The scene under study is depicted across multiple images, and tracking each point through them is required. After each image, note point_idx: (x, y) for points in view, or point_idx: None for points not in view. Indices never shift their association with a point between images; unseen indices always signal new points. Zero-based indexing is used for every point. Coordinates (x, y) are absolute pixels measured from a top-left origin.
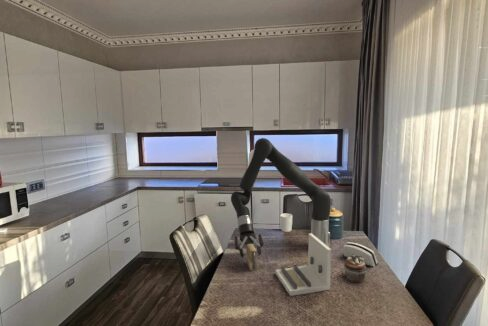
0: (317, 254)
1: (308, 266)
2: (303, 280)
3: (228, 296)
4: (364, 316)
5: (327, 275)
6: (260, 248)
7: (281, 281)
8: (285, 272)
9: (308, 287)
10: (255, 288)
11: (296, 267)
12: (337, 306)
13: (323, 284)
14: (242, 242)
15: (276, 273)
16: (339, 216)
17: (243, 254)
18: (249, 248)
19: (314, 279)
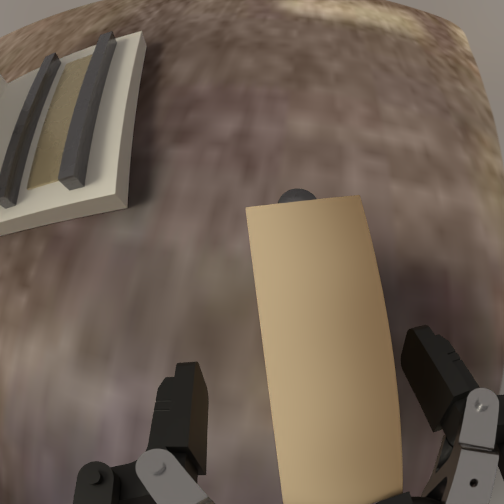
0: None
1: None
2: (46, 93)
3: (415, 67)
4: (34, 28)
5: None
6: (152, 433)
7: (132, 113)
8: (82, 115)
9: (62, 61)
10: (293, 84)
11: (4, 172)
12: (52, 38)
13: (10, 87)
14: (492, 469)
15: (123, 186)
16: None
17: (419, 337)
18: (375, 301)
19: (8, 111)
